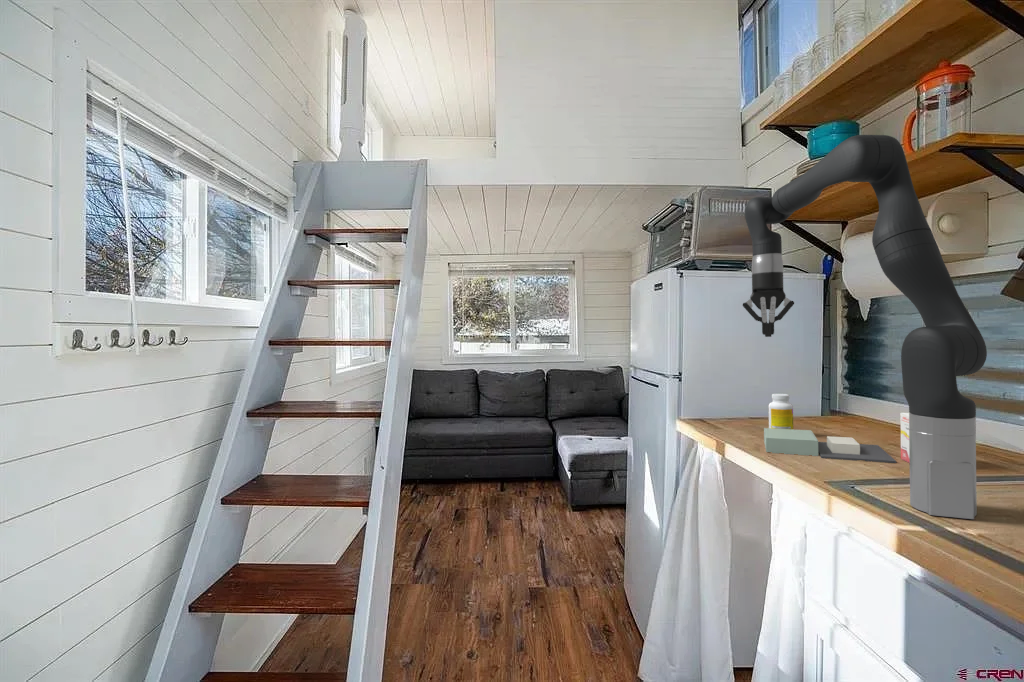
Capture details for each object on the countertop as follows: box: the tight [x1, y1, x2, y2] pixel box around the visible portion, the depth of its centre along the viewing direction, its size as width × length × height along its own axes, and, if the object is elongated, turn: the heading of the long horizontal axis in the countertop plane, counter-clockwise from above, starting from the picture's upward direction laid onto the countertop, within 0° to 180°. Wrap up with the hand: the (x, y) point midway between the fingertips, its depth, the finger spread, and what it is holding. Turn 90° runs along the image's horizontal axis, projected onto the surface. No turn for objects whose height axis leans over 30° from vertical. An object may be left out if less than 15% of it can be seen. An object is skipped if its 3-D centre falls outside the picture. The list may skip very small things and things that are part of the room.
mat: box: [818, 441, 897, 464], centre depth 134 cm, size 18×16×1 cm
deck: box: [763, 427, 819, 457], centre depth 140 cm, size 14×12×4 cm
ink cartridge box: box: [899, 412, 910, 464], centre depth 121 cm, size 9×5×15 cm, turn 168°
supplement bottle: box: [768, 393, 794, 430], centre depth 155 cm, size 7×7×13 cm
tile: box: [826, 436, 861, 455], centre depth 135 cm, size 9×6×2 cm, turn 156°
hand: (768, 336), depth 137 cm, fingers closed
